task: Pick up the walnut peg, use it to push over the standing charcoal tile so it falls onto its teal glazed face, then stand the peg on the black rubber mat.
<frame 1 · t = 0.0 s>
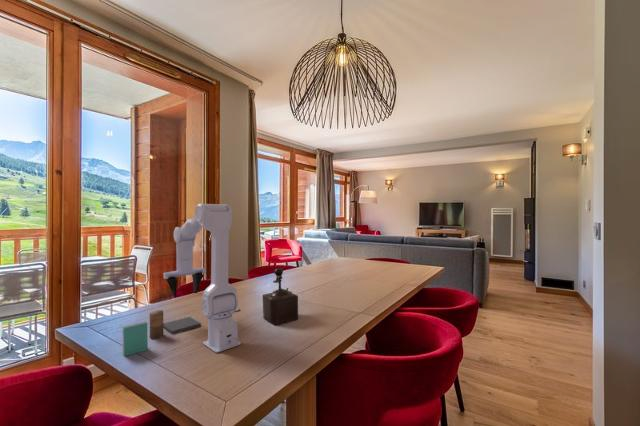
hand: (185, 294, 112), 10 cm above the table, tool pointing down, fingers open, 7 cm apart
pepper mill: (278, 317, 115), on the table
mat: (181, 326, 107), on the table
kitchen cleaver: (224, 306, 132), on the table
tile: (136, 352, 87), on the table
peg: (156, 336, 98), on the table
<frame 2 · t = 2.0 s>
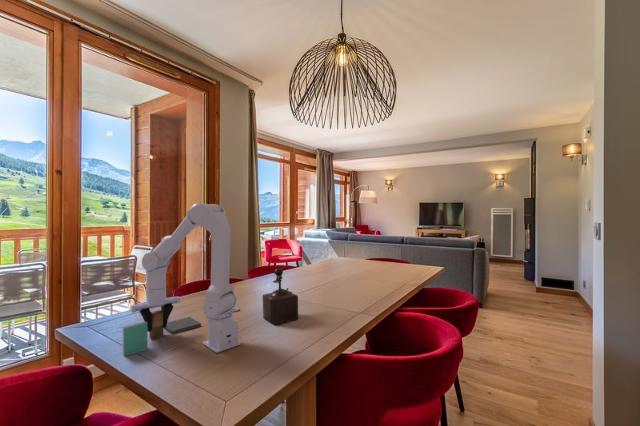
hand: (156, 328, 98), 2 cm above the table, tool pointing down, fingers closed on peg, 4 cm apart
peg: (156, 336, 98), on the table, touching gripper
everything else where it was.
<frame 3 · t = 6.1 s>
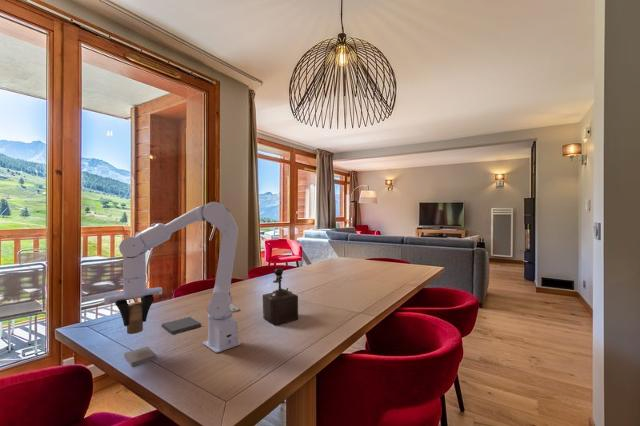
hand: (135, 323, 87), 8 cm above the table, tool pointing down, fingers closed on peg, 4 cm apart
tile: (136, 354, 86), on the table, tilted 90°
peg: (135, 331, 87), point 6 cm above the table, touching gripper
everything else where it was.
when the fingers open (4 cm above the table, at t = 9.5 s): peg stays where it is, resting on mat.
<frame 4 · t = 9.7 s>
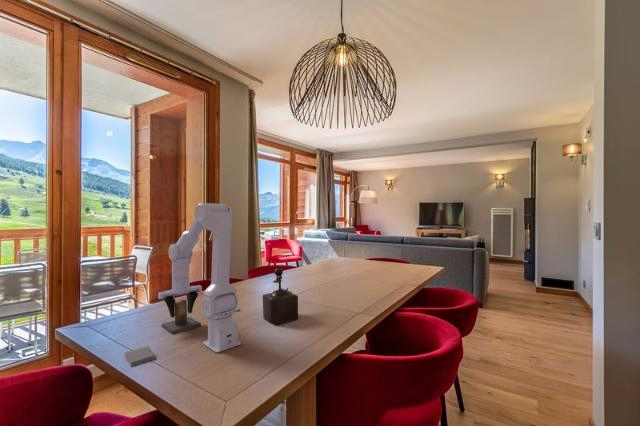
hand: (181, 314, 107), 4 cm above the table, tool pointing down, fingers open, 5 cm apart
peg: (181, 323, 107), point 1 cm above the table, touching mat
everything else where it was.
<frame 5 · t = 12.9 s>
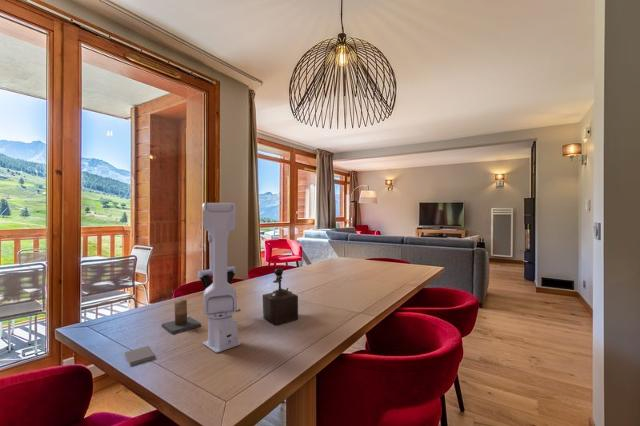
hand: (217, 292, 115), 10 cm above the table, tool pointing down, fingers open, 7 cm apart
nothing on the table moved.
at the end: tile tilted 90°; tile on the table; peg inside the target area on the mat (0.1 cm from its centre), point 1.0 cm above the mat's base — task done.
